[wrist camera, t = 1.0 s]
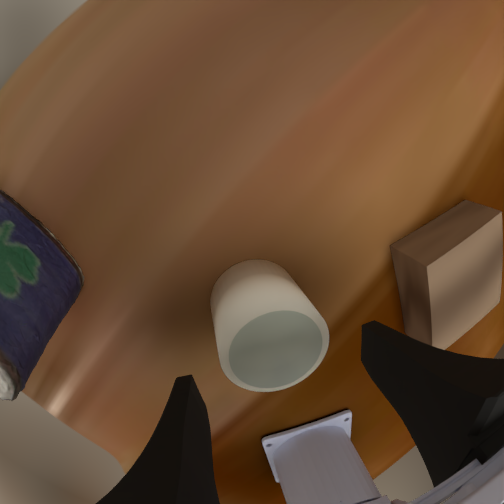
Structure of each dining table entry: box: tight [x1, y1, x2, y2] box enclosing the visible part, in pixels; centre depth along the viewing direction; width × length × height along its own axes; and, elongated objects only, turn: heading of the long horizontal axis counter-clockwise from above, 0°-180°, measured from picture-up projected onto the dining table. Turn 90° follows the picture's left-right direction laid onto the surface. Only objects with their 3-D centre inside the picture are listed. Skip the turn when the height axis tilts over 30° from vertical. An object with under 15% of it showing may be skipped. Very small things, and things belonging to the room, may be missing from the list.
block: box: [390, 200, 503, 350], centre depth 18 cm, size 8×8×4 cm
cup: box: [210, 259, 329, 392], centre depth 15 cm, size 5×5×5 cm
